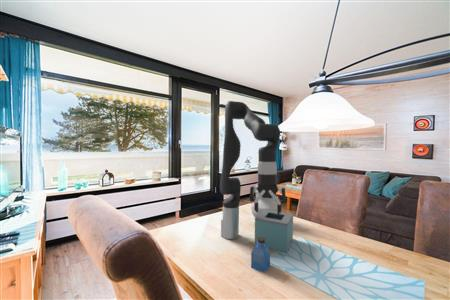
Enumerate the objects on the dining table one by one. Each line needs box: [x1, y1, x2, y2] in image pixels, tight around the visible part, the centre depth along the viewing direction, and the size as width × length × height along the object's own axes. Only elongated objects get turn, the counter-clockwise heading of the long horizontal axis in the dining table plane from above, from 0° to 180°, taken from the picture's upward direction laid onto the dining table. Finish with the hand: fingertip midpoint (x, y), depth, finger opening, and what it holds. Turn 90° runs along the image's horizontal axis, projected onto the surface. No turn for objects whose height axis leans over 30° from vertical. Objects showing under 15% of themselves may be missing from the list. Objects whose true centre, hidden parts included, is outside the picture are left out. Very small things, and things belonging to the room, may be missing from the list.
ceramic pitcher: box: [250, 182, 278, 219], centre depth 141 cm, size 22×20×25 cm
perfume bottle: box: [250, 237, 271, 273], centre depth 89 cm, size 6×6×12 cm
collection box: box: [254, 209, 294, 254], centre depth 111 cm, size 16×16×14 cm
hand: (267, 212), depth 84 cm, fingers open, 8 cm apart
